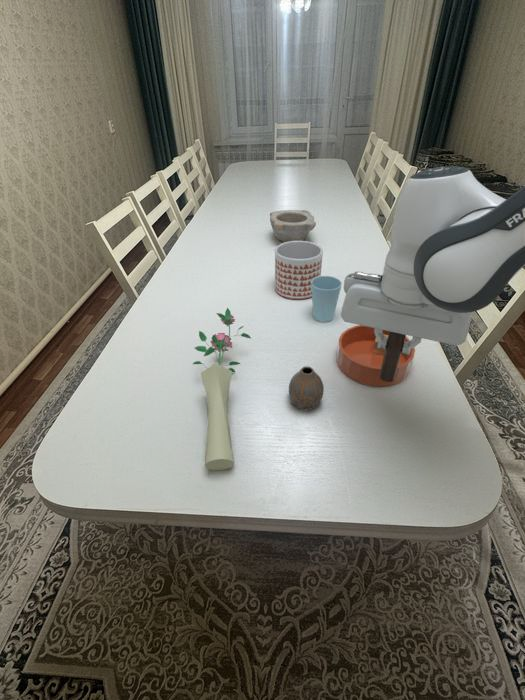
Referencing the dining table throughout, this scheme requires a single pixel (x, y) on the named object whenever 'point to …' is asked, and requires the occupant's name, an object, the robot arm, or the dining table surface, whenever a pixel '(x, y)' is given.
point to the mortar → (292, 224)
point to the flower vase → (218, 399)
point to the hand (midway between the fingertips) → (393, 349)
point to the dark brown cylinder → (391, 356)
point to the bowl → (367, 357)
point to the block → (378, 350)
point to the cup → (325, 297)
